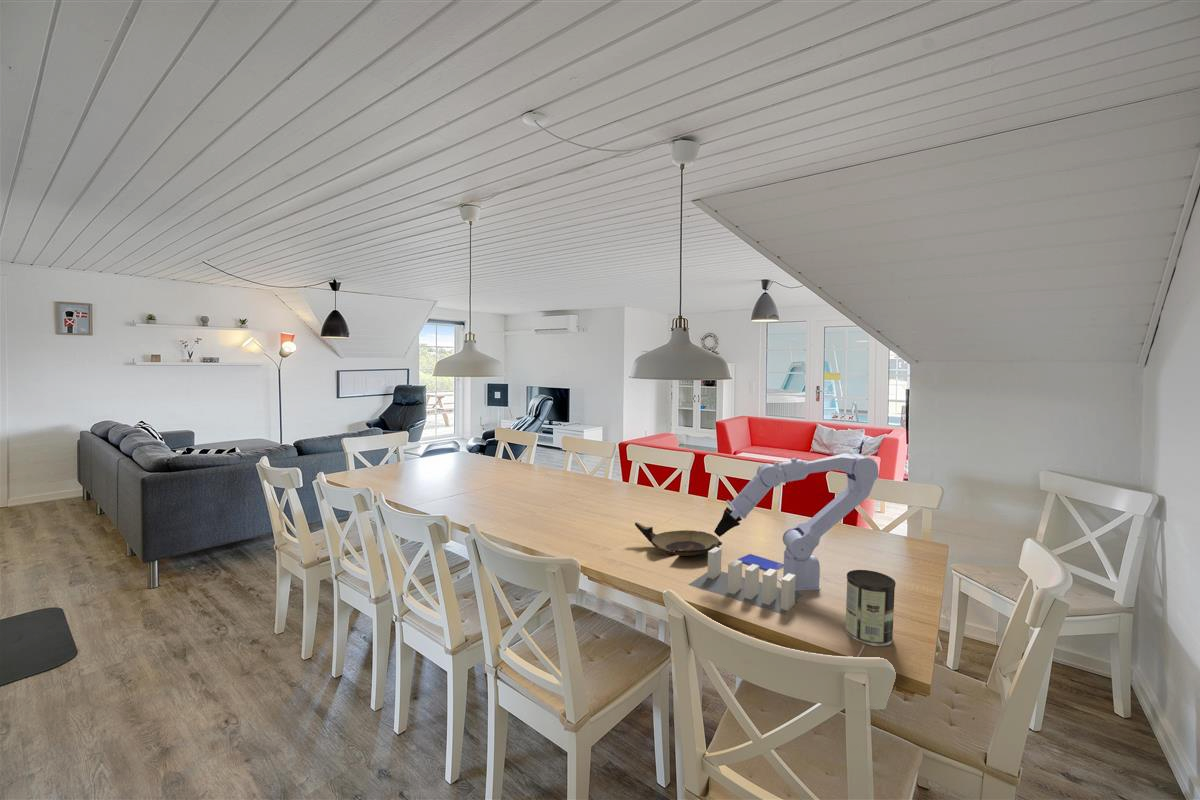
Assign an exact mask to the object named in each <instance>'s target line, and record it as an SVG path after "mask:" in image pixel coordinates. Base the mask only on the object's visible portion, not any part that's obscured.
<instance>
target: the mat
mask: <svg viewBox="0 0 1200 800" xmlns="http://www.w3.org/2000/svg"><path fill="white" fill-rule="evenodd" d="M707 575H708V571H707V572H705V573H704V574H702V575H701V576H699V577H697V578H695V580H693V581H692V582H690V583H688V585H689V586H692V587H694V588H698V589H701V590H703V591H708V592H710V593H714V594H717V595H721V596H724V597H727V598H730V599H732V600H737V601H739V602H742V603H746V604H748V605H752V606H754V607H758V608H762V609H766V610H768V611H772V612H775V613H778V614H780V615H786V614H787V613H788V612H789V611H787V610H783V609H781V587H779V586H777V589H776V599H775V600H774V601H773V602H772V603H771V604H770V605H767V604H764V603H762V587H763V582H761V581H759V593H758V594H757V595H756V596H755V597H754V598H753V599H752V600H751V599H747V598H744V594H745V576H744V577H743V576H742V589H740V590H739V591H738V592H737V593H735V594H731V593H728V592H727V591H728V572H725V571H722V570H721V574H720V575H719V576H717V577H716V578H714V579H712V578H708V577H707ZM803 596H804V593H800V592H797V591H795V604H796V603H797V602H799V600H800V599H802V598H803ZM795 604H794V605H793V606H792V607H791V609H792V608H793V607H794V606H795Z"/></svg>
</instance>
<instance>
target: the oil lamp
mask: <svg viewBox="0 0 1200 800" xmlns="http://www.w3.org/2000/svg"><path fill="white" fill-rule="evenodd" d="M634 526H635V527H636V528H637V529H638V530H639V531H640V533H642V535H643V536H644V537H645V538H646V539H647V541H648V542H650V543H651V545H652V546H654V548H656V549H658V550H660V551H662V552H665V553H667V554H670V555H674V556H680V557H692V556H698V555H701V554H705V553H708V551H709V550H711V549H713V548H714V547H718V548H721V547H720V546H722V545H723V543H722V541H720V539H719V537H717V536H715V535H713V534H712V533H707V532H705V531H701V530H699V531H697V530H687V529H684V530H671V531H664V532H660V533H654V531H653V530H654V527H653V526H645V525H643V524H641V523H639V522H635V523H634Z"/></svg>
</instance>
